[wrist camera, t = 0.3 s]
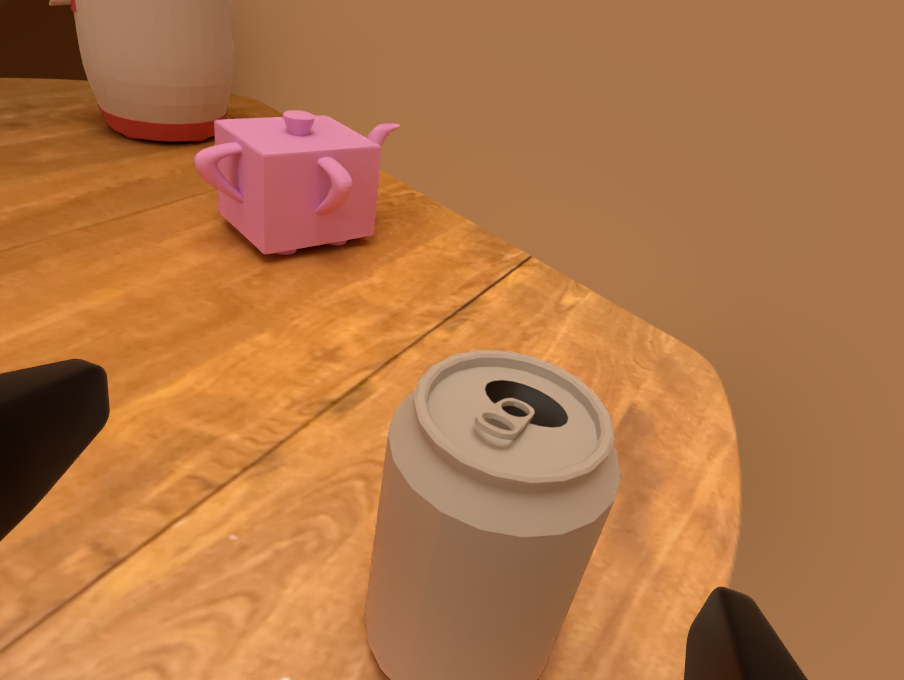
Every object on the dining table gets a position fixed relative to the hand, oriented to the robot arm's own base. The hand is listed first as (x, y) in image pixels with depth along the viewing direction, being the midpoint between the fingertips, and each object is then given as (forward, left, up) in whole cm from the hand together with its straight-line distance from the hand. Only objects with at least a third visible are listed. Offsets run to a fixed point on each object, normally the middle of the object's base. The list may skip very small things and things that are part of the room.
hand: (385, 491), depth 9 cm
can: (+10, -1, -17) cm, 20 cm away
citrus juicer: (+55, +49, -17) cm, 76 cm away
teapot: (+40, +22, -17) cm, 49 cm away
